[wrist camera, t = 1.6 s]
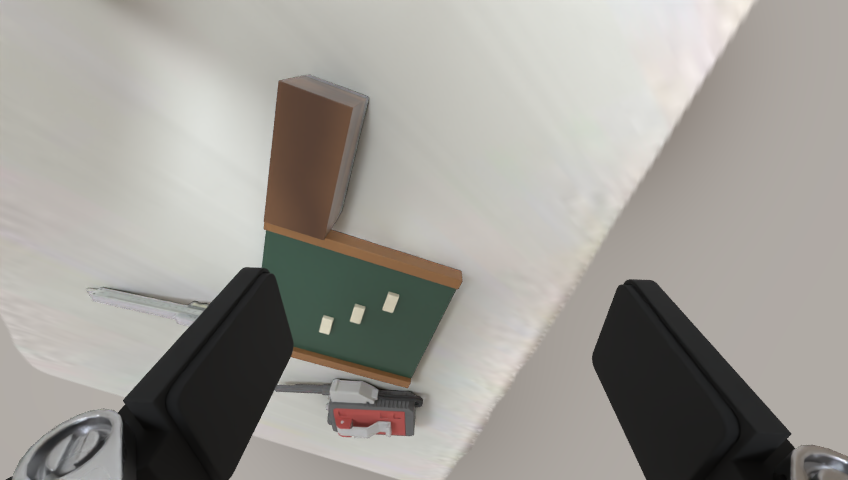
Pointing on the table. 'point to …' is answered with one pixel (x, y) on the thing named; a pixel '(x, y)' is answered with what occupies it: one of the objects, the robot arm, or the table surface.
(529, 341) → the table surface
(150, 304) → the caliper
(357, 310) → the chalk mark
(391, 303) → the chalk mark
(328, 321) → the chalk mark
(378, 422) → the toy chainsaw
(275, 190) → the eraser
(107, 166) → the table surface
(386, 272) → the chalkboard
